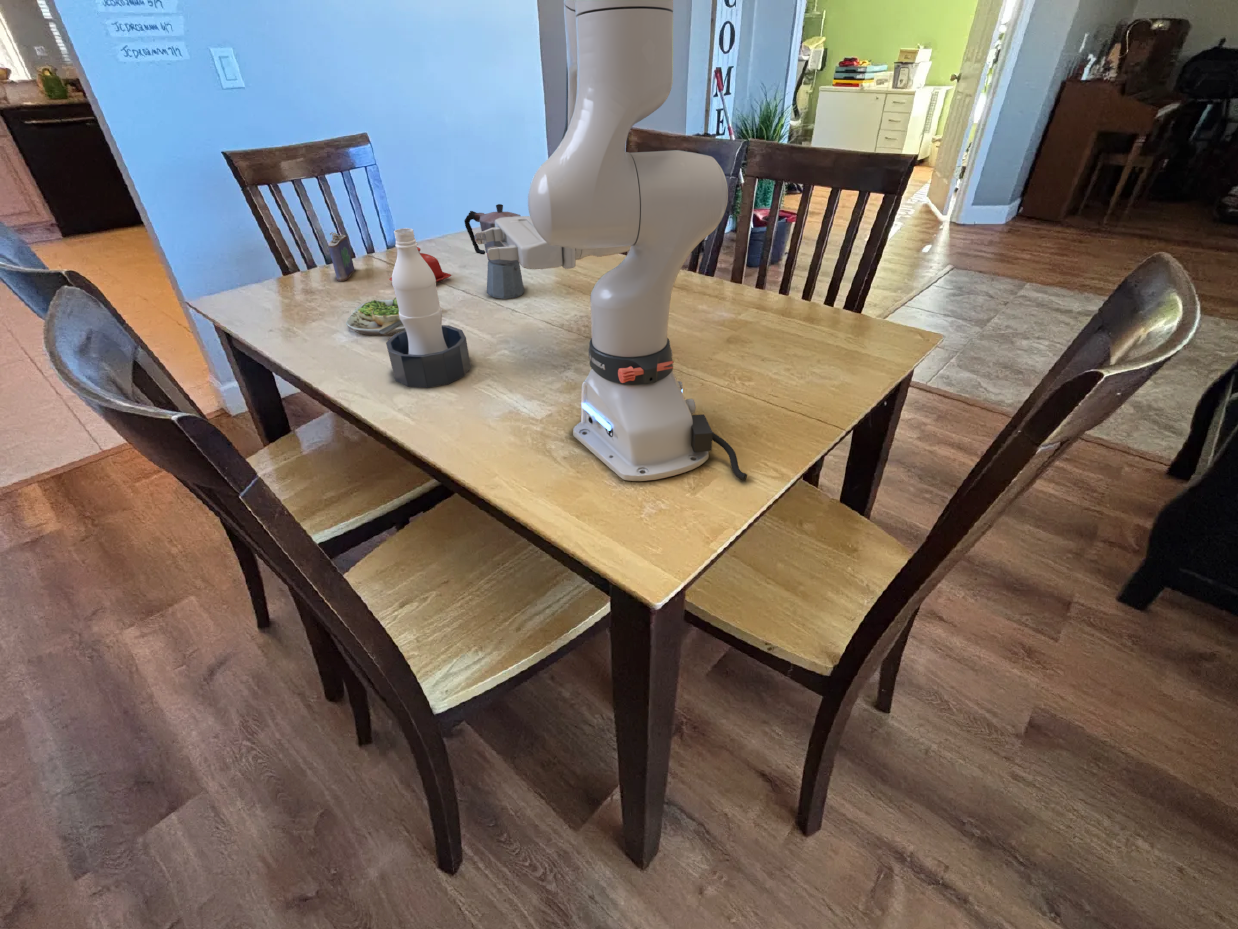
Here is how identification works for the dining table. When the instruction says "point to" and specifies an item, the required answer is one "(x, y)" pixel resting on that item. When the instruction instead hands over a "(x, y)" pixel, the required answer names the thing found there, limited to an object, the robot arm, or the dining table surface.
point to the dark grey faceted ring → (429, 360)
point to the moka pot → (501, 273)
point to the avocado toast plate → (376, 318)
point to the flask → (341, 256)
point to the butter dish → (433, 267)
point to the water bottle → (417, 297)
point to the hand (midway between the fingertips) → (481, 245)
